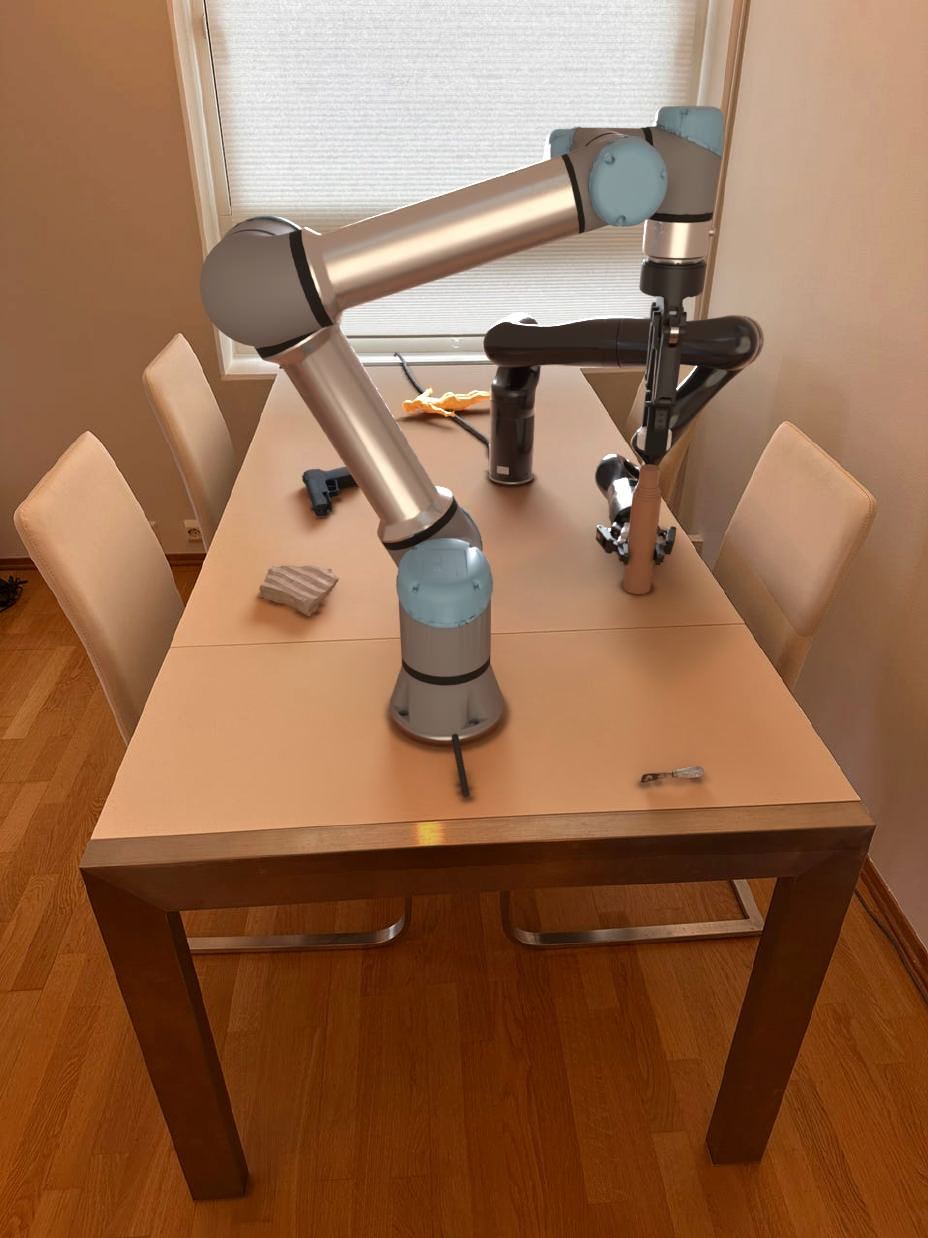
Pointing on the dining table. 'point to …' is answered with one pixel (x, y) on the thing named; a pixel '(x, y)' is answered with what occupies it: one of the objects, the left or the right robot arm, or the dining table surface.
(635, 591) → the bottle
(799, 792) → the dining table surface
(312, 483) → the handgun
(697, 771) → the putty knife
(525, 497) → the dining table surface
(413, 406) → the human figure
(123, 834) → the dining table surface
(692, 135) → the left robot arm
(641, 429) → the cap
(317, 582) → the stone
